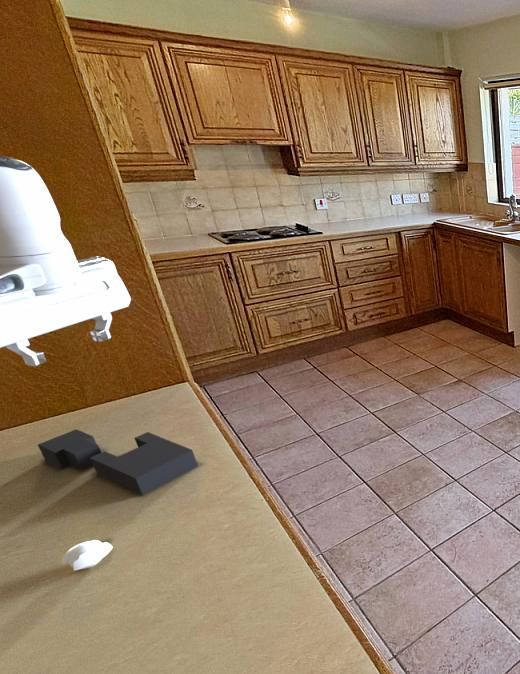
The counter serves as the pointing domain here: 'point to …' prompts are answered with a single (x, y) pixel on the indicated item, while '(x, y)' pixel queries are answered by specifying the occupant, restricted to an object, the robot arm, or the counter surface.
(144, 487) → the base pad
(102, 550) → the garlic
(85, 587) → the counter surface
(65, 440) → the pad
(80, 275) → the robot arm
